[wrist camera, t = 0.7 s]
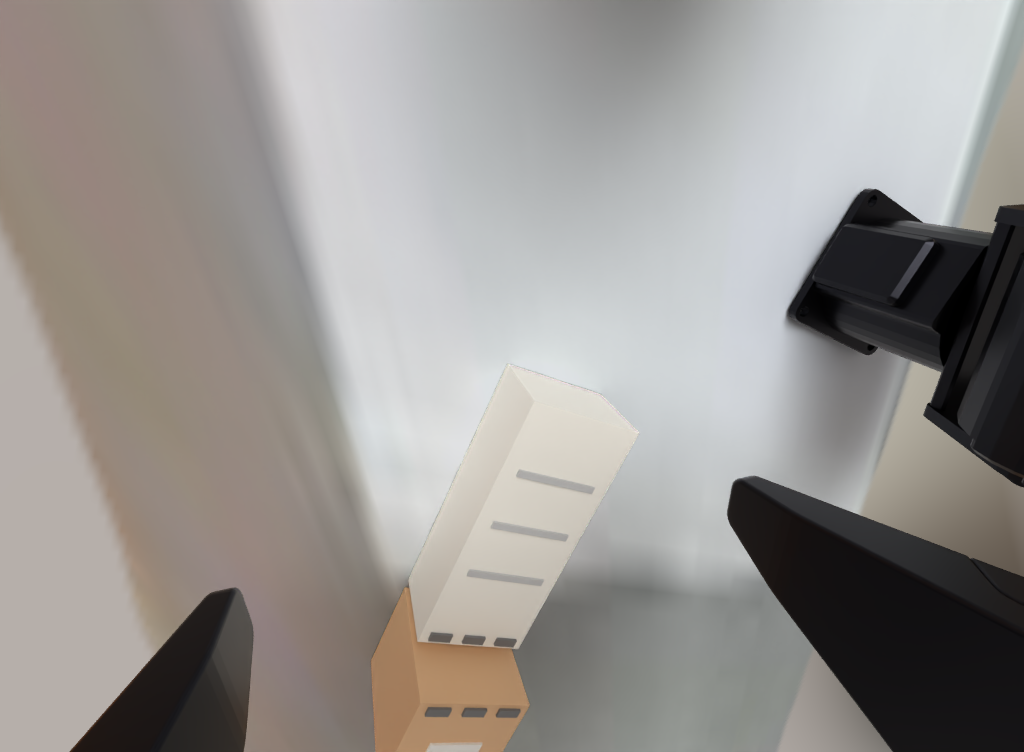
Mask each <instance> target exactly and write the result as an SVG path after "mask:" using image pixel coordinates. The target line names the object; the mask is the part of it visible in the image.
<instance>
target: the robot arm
mask: <svg viewBox="0 0 1024 752" xmlns="http://www.w3.org/2000/svg"><path fill="white" fill-rule="evenodd" d="M868 200H869V201H868ZM995 222H997V224H996V226H995V229H994V232H993V233H988V232H982V231H974V230H968V229H961V228H955V227H948V226H941V225H935V224H928V223H923V222H922V221H920V220H919V219H918V218H916V217H915V216H913V215H912V214H911V213H909V212H908V211H907V210H905V209H904V208H903V207H901V206H900V205H898V204H897V203H896V202H894V201H893V200H892V199H890V198H889V197H888V196H886V195H885V194H883V193H882V192H881V191H879V190H877V189H864V190H863V191H862V192H861V193H860V194H859V195H858V197H857V198H856V200H855V202H854V203H853V205H852V207H851V208H850V210H849V211H848V213H847V215H846V216H845V218H844V220H843V221H842V223H841V225H840V226H839V228H838V230H837V231H836V233H835V235H834V236H833V238H832V239H831V241H830V243H829V244H828V246H827V248H826V249H825V251H824V253H823V254H822V256H821V258H820V259H819V261H818V263H817V264H816V266H815V267H814V269H813V271H812V272H811V274H810V276H809V277H808V279H807V281H806V282H805V284H804V286H803V287H802V289H801V291H800V292H799V294H798V295H797V297H796V299H795V300H794V302H793V304H792V305H791V307H790V310H789V315H790V317H791V318H792V319H794V320H796V321H798V322H800V323H802V324H804V325H806V326H808V327H810V328H812V329H814V330H816V331H818V332H820V333H822V334H824V335H826V336H828V337H830V338H832V339H834V340H836V341H838V342H840V343H842V344H844V345H846V346H848V347H850V348H852V349H854V350H856V351H858V352H860V353H863V354H865V355H870V354H872V353H874V352H875V351H876V350H877V348H878V347H879V348H881V349H884V350H886V351H889V352H891V353H894V354H896V355H899V356H901V357H904V358H907V359H909V360H912V361H914V362H917V363H919V364H922V365H924V366H927V367H929V368H932V369H935V370H937V371H940V372H942V373H941V376H940V378H939V381H938V384H937V386H936V389H935V392H934V395H933V397H932V400H931V403H928V404H927V406H926V409H925V412H924V414H923V415H924V416H925V417H926V418H927V419H928V420H930V421H931V422H932V423H934V424H935V425H936V426H938V427H939V428H940V429H942V430H943V431H944V432H946V433H947V434H948V435H950V436H951V437H952V438H954V439H955V440H956V441H958V442H959V443H960V444H961V445H963V446H964V447H965V448H967V449H968V450H969V451H971V452H972V453H973V454H975V455H976V456H977V457H979V458H980V459H981V460H982V461H984V462H985V463H986V464H988V465H989V466H991V467H992V468H993V469H994V470H996V471H997V472H999V473H1000V474H1002V475H1004V476H1005V477H1006V478H1007V479H1009V480H1010V481H1011V482H1013V483H1014V484H1016V485H1018V486H1021V487H1024V204H1021V205H1007V206H1000V207H999V209H998V212H997V215H996V218H995ZM801 309H802V311H801ZM800 311H801V312H800ZM727 516H728V520H729V523H730V525H731V527H732V528H733V530H734V532H735V533H736V535H737V536H738V538H739V540H740V541H741V543H742V545H743V546H744V548H745V549H746V551H747V553H748V554H749V556H750V557H751V559H752V561H753V562H754V564H755V565H756V567H757V569H758V570H759V572H760V574H761V575H762V577H763V578H764V580H765V582H766V583H767V585H768V586H769V588H770V589H771V591H772V592H773V594H774V595H775V596H776V598H777V599H778V601H779V602H780V603H781V605H782V606H783V607H784V609H785V610H786V611H787V613H788V614H789V615H790V617H791V618H792V619H793V621H794V622H795V623H796V624H797V626H798V627H799V628H800V630H801V631H802V632H803V634H804V635H805V636H806V638H807V639H808V640H809V642H810V643H811V644H812V646H813V647H814V648H815V650H816V651H817V652H818V654H819V655H820V656H821V657H822V659H823V660H824V661H825V663H826V664H827V666H828V667H829V668H830V669H831V671H832V672H833V673H834V675H835V676H836V677H837V679H838V680H839V681H840V683H841V684H842V685H843V687H844V688H845V689H846V691H847V692H848V693H849V694H850V696H851V697H852V698H853V700H854V701H855V702H856V704H857V705H858V707H859V708H860V709H861V710H862V712H863V713H864V714H865V716H866V717H867V718H868V720H869V721H870V722H871V724H872V725H873V726H874V728H875V729H876V730H877V732H878V733H879V734H880V736H881V737H882V738H883V739H884V741H885V742H886V743H887V745H888V746H889V748H890V749H891V750H892V751H893V752H1024V577H1022V576H1020V575H1017V574H1014V573H1011V572H1008V571H1006V570H1003V569H1000V568H998V567H995V566H993V565H990V564H987V563H984V562H982V561H979V560H976V559H974V558H971V559H970V558H969V557H967V556H966V555H963V554H961V553H958V552H955V551H952V550H950V549H948V548H945V547H942V546H940V545H937V544H934V543H931V542H929V541H926V540H924V539H921V538H918V537H916V536H913V535H910V534H908V533H905V532H903V531H900V530H897V529H895V528H892V527H889V526H887V525H884V524H881V523H878V522H876V521H874V520H871V519H868V518H866V517H863V516H860V515H858V514H855V513H852V512H850V511H847V510H844V509H842V508H839V507H837V506H834V505H831V504H829V503H826V502H823V501H821V500H818V499H815V498H813V497H810V496H808V495H805V494H802V493H800V492H797V491H794V490H792V489H789V488H786V487H784V486H781V485H779V484H776V483H773V482H771V481H768V480H765V479H763V478H760V477H757V476H749V477H744V478H739V479H737V480H735V481H734V483H733V484H732V489H731V494H730V499H729V505H728V510H727ZM252 651H253V625H252V621H251V618H250V615H249V613H248V610H247V607H246V604H245V601H244V598H243V595H242V593H241V591H240V590H239V589H238V588H229V589H224V590H220V591H215V592H212V593H210V594H208V595H207V596H206V597H205V598H204V599H203V600H202V601H201V603H200V604H199V605H198V606H197V607H196V608H195V609H194V611H193V612H192V613H191V614H190V615H189V616H188V617H187V619H186V620H185V621H184V622H183V623H182V624H181V625H180V626H179V628H178V629H177V630H176V631H175V632H174V633H173V634H172V636H171V637H170V638H169V639H168V640H167V641H166V642H165V644H164V645H163V646H162V647H161V648H160V649H159V650H158V652H157V653H156V654H155V655H154V656H153V657H152V658H151V660H150V661H149V662H148V663H147V664H146V665H145V666H144V667H143V669H142V670H141V671H140V672H139V673H138V674H137V676H136V677H135V678H134V679H133V680H132V681H131V682H130V684H129V685H128V686H127V687H126V688H125V689H124V690H123V691H122V693H121V694H120V695H119V696H118V697H117V698H116V699H115V701H114V702H113V703H112V704H111V705H110V706H109V707H108V708H107V710H106V711H105V712H104V713H103V714H102V715H101V716H100V718H99V719H98V720H97V721H96V722H95V723H94V725H93V726H92V727H91V728H90V729H89V730H88V731H87V732H86V734H85V735H84V736H83V737H82V738H81V739H80V740H79V742H78V743H77V744H76V745H75V746H74V747H73V748H72V749H71V751H70V752H244V746H245V739H246V729H247V718H248V705H249V691H250V678H251V664H252Z"/></svg>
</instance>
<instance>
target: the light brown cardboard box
mask: <svg viewBox="0 0 1024 752" xmlns="http://www.w3.org/2000/svg"><path fill="white" fill-rule="evenodd" d="M371 672H372V691H373V710H374V730H375V749H376V752H503V750H504V748H505V747H506V745H507V743H508V742H509V740H510V738H511V736H512V735H513V733H514V731H515V730H516V728H517V726H518V725H519V723H520V721H521V720H522V718H523V716H524V715H525V713H526V711H527V709H528V708H529V706H530V704H529V701H528V698H527V695H526V692H525V689H524V686H523V683H522V680H521V677H520V674H519V671H518V668H517V665H516V662H515V658H514V655H513V652H512V649H511V648H497V647H483V646H469V645H455V644H441V643H427V642H417V635H416V628H415V621H414V615H413V608H412V601H411V594H410V588H408V587H405V588H404V590H403V592H402V594H401V596H400V599H399V601H398V603H397V605H396V607H395V609H394V612H393V614H392V616H391V618H390V620H389V623H388V625H387V627H386V629H385V631H384V633H383V636H382V638H381V640H380V642H379V644H378V646H377V649H376V651H375V653H374V655H373V657H372V660H371Z"/></svg>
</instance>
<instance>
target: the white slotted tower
mask: <svg viewBox="0 0 1024 752" xmlns="http://www.w3.org/2000/svg"><path fill="white" fill-rule="evenodd" d="M638 435H639V432H638V431H637V430H636V429H635V428H634V427H633V426H632V425H631V424H630V423H629V422H628V421H627V420H626V419H625V418H624V417H623V416H622V415H621V414H620V413H619V412H618V411H617V410H616V409H615V408H614V407H613V406H612V405H611V404H610V403H609V402H608V401H607V400H606V399H605V398H604V397H603V396H602V395H601V394H598V393H595V392H592V391H589V390H586V389H583V388H580V387H577V386H574V385H571V384H568V383H565V382H562V381H559V380H556V379H553V378H550V377H547V376H544V375H541V374H538V373H535V372H532V371H529V370H526V369H523V368H520V367H516V366H513V365H510V364H507V366H506V368H505V370H504V372H503V374H502V377H501V379H500V381H499V383H498V385H497V387H496V390H495V392H494V394H493V396H492V398H491V401H490V403H489V405H488V407H487V409H486V411H485V414H484V416H483V418H482V420H481V422H480V424H479V427H478V429H477V431H476V433H475V435H474V438H473V440H472V442H471V444H470V446H469V448H468V451H467V453H466V455H465V457H464V459H463V461H462V464H461V466H460V468H459V470H458V472H457V475H456V477H455V479H454V481H453V483H452V485H451V488H450V490H449V492H448V494H447V496H446V498H445V501H444V503H443V505H442V507H441V509H440V512H439V514H438V516H437V518H436V520H435V522H434V525H433V527H432V529H431V531H430V533H429V535H428V538H427V540H426V542H425V544H424V546H423V549H422V551H421V553H420V555H419V557H418V559H417V562H416V564H415V566H414V568H413V570H412V572H411V575H410V577H409V579H408V580H409V587H410V594H411V601H412V608H413V615H414V621H415V628H416V635H417V642H427V643H441V644H455V645H469V646H483V647H497V648H511V649H519V647H520V645H521V643H522V641H523V640H524V638H525V636H526V634H527V633H528V631H529V629H530V627H531V625H532V624H533V622H534V620H535V618H536V617H537V615H538V613H539V611H540V609H541V608H542V606H543V604H544V602H545V600H546V599H547V597H548V595H549V593H550V592H551V590H552V588H553V586H554V584H555V583H556V581H557V579H558V577H559V576H560V574H561V572H562V570H563V568H564V567H565V565H566V563H567V561H568V559H569V558H570V556H571V554H572V552H573V551H574V549H575V547H576V545H577V543H578V542H579V540H580V538H581V536H582V535H583V533H584V531H585V529H586V527H587V526H588V524H589V522H590V520H591V518H592V517H593V515H594V513H595V511H596V510H597V508H598V506H599V504H600V502H601V501H602V499H603V497H604V495H605V493H606V492H607V490H608V488H609V486H610V485H611V483H612V481H613V479H614V477H615V476H616V474H617V472H618V470H619V469H620V467H621V465H622V463H623V461H624V460H625V458H626V456H627V454H628V452H629V451H630V449H631V447H632V445H633V444H634V442H635V440H636V438H637V436H638Z"/></svg>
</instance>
